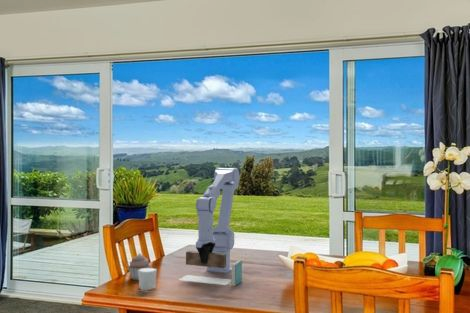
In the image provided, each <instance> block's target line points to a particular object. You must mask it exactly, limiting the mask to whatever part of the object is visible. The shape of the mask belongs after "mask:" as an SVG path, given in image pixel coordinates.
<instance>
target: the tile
mask: <svg viewBox="0 0 470 313" xmlns="http://www.w3.org/2000/svg"><path fill="white" fill-rule="evenodd" d="M231 268H232V270H231V280H232V281H231V286H233V287H236V286H238V285H239V284H241V282H243V261H242V260H236V261H235V262H233V263H232V264H231Z"/></svg>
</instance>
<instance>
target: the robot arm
mask: <svg viewBox="0 0 470 313" xmlns="http://www.w3.org/2000/svg"><path fill="white" fill-rule="evenodd" d="M213 174H214V175H213V176H214V177H213V178H214V180H213V183H212V184H211V185H208V186H207V188H206V190H205V191H204V193H203V194H202V196H200V197H199V198H197V200H196V202H195V209H196V215H197V216H198V228H197V229H198V236H197V237H198V238H197V241H196V242H195V248H196V251H198V252H199V255H200V259H201V263H203V264H207V261H208V254H209V252H210V253H222V254H226V267H225V268H216V267H206V272H216V273H225V274H227V273H229V272H230V271H232V267H231V250H232V249H233V248H234V245H235V232H234V230H232V229H231V228H230V222H231V215H232V207H233V201H234V194H235V190H236V189H238V187H239V183H240V170H239V169H238V168H237V167H216V168H215V170H214V173H213ZM221 190H222V195H221ZM220 195H221V201H220V208H219V215H218V220H217V221H218V222H217V225H216V226H215V227H214V212H215V211H216V206H217V201H218V199H219V197H220Z"/></svg>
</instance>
